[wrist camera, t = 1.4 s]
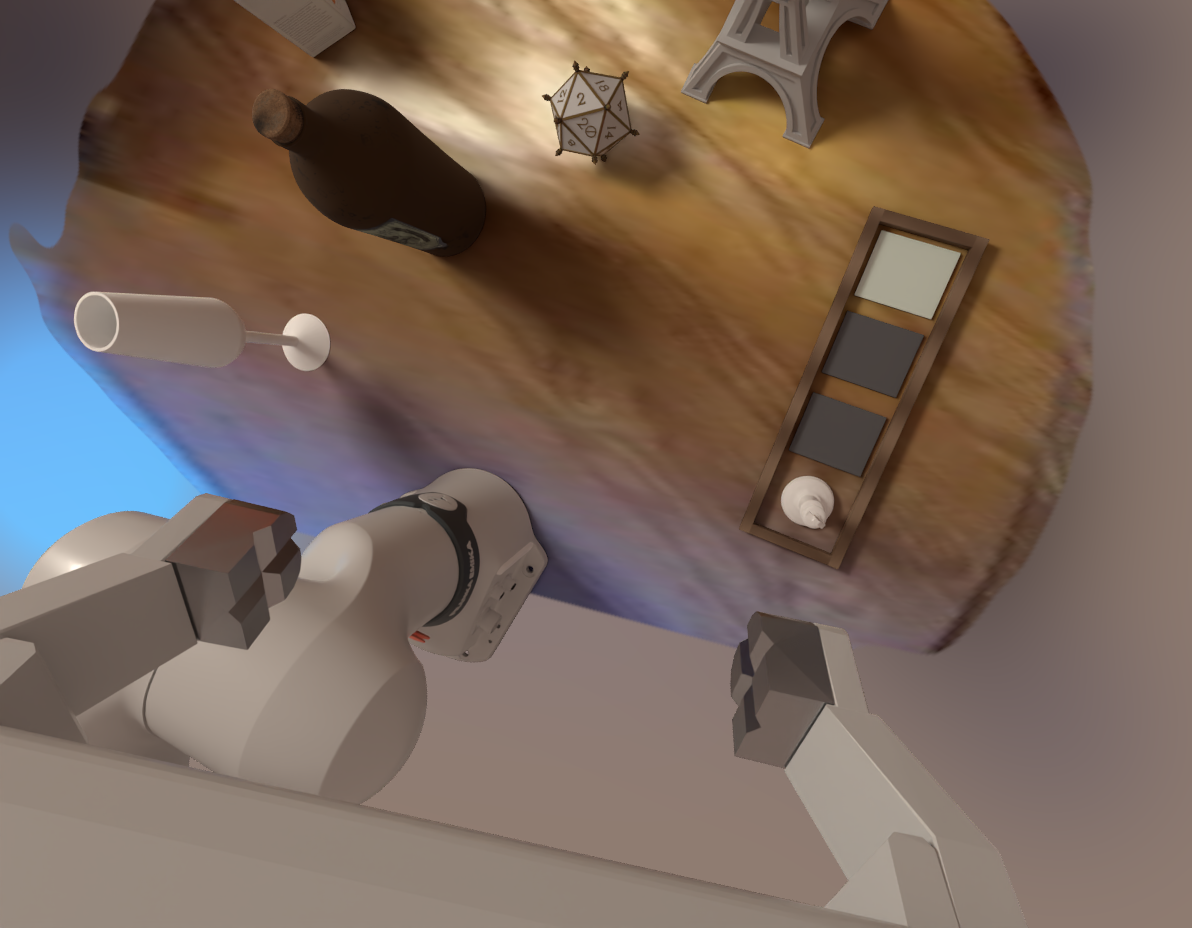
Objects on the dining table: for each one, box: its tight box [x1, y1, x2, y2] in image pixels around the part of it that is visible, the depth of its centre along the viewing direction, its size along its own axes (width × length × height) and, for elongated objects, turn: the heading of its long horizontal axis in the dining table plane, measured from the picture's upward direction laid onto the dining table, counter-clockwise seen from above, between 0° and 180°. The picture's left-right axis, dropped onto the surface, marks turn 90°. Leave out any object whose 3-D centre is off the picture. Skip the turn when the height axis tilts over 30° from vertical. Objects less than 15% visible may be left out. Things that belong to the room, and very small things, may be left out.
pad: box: [854, 230, 961, 319], centre depth 56 cm, size 6×7×1 cm
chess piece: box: [781, 476, 834, 529], centre depth 56 cm, size 5×5×10 cm
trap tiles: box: [789, 311, 924, 477], centre depth 58 cm, size 14×7×1 cm, turn 160°
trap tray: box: [739, 206, 989, 569], centre depth 58 cm, size 32×10×1 cm, turn 160°
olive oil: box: [252, 89, 486, 256], centre depth 55 cm, size 11×11×25 cm
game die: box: [542, 61, 640, 165], centre depth 58 cm, size 9×8×10 cm
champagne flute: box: [74, 292, 330, 371], centre depth 61 cm, size 7×7×24 cm
